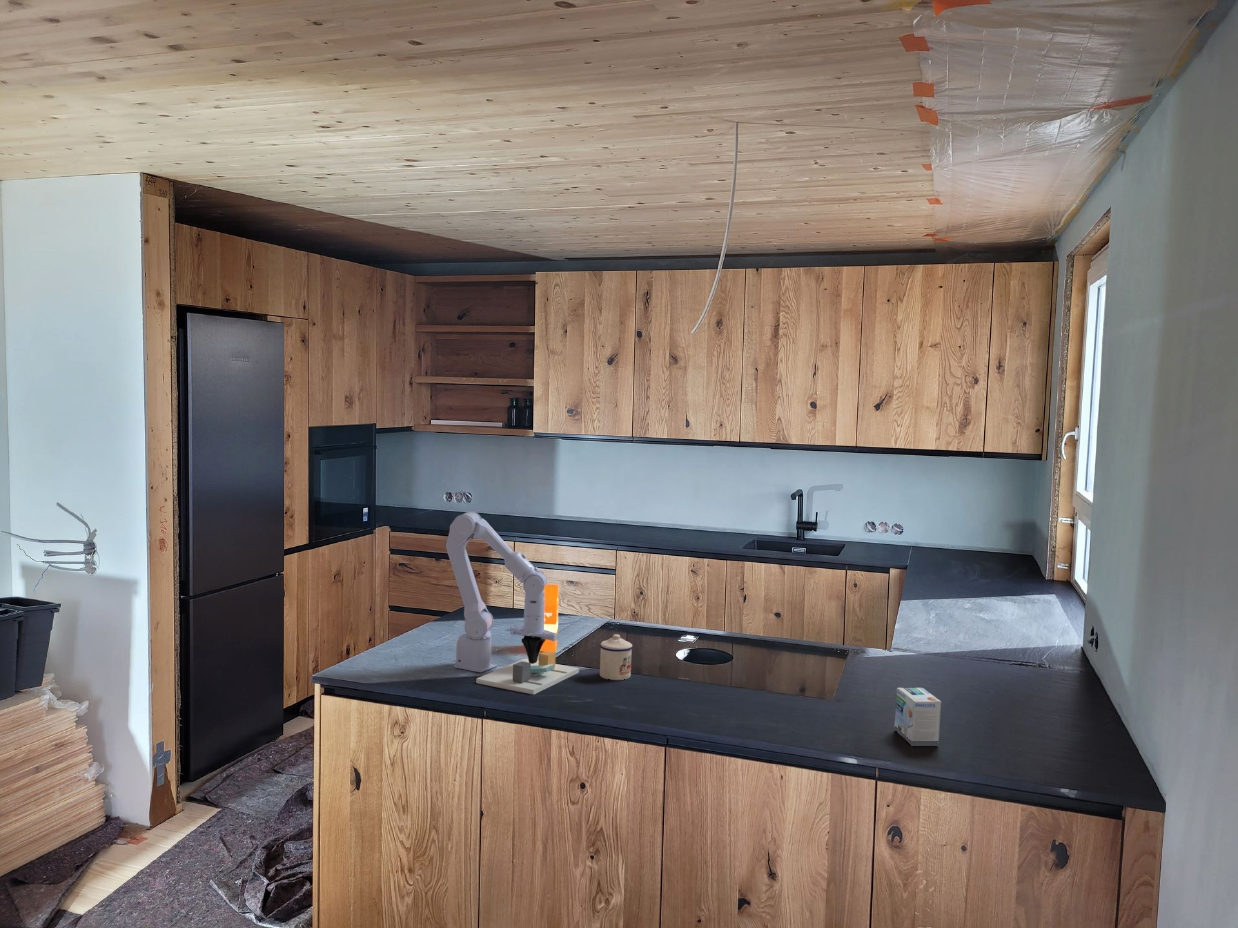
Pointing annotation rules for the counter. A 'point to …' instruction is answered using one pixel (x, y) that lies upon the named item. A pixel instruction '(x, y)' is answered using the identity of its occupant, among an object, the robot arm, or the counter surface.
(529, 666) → the charcoal fader
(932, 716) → the light bulb box
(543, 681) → the panel
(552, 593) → the orange juice
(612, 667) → the teacup with lid
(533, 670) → the teal flat block
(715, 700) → the counter surface
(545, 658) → the block
